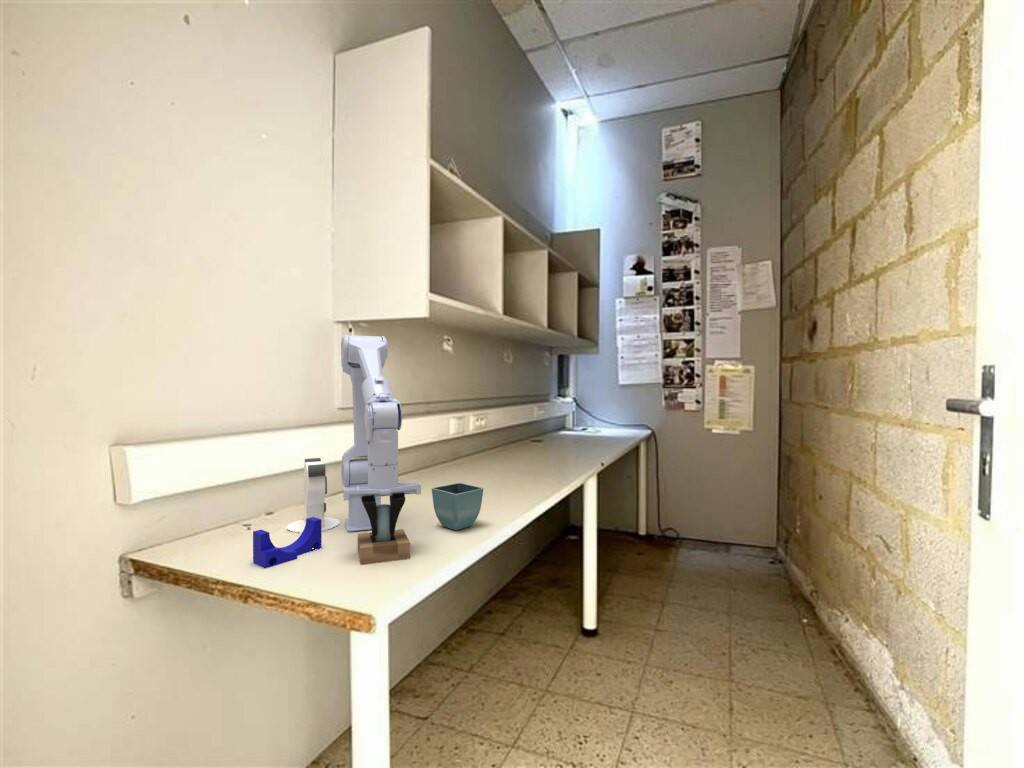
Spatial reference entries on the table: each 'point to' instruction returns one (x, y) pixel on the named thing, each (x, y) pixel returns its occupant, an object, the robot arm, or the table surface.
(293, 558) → the blue cradle bracket
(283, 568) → the table surface
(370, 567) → the table surface
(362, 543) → the open cardboard frame
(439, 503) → the flower pot
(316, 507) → the white tower device
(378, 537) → the blue-gray dowel
